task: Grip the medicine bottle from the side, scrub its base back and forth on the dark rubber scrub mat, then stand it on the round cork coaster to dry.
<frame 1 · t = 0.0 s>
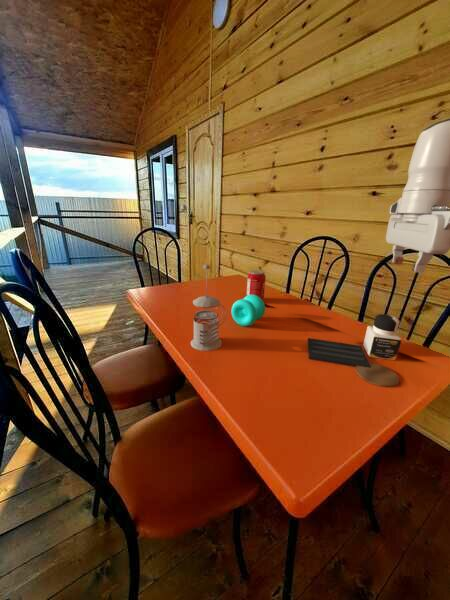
hand: (406, 267, 61), 28 cm above the table, tool pointing down, fingers open, 8 cm apart
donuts: (247, 322, 96), on the table
medicine bottle: (378, 353, 77), on the table
soda can: (254, 304, 115), on the table
coaster: (376, 374, 67), on the table
scrub mat: (335, 353, 76), on the table
french press: (208, 342, 80), on the table
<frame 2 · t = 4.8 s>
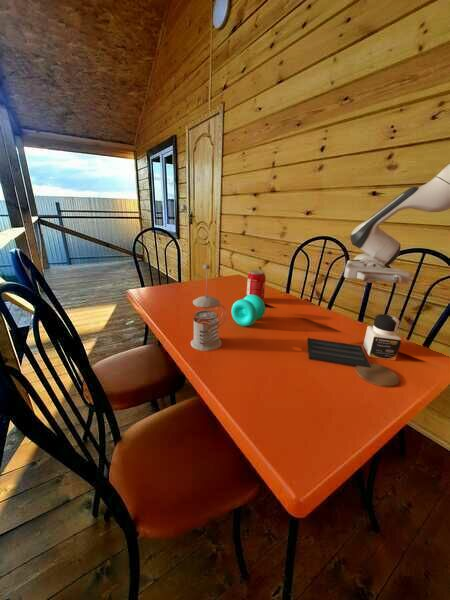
hand: (381, 279, 82), 20 cm above the table, tool horizontal, fingers open, 8 cm apart
nothing on the table moved.
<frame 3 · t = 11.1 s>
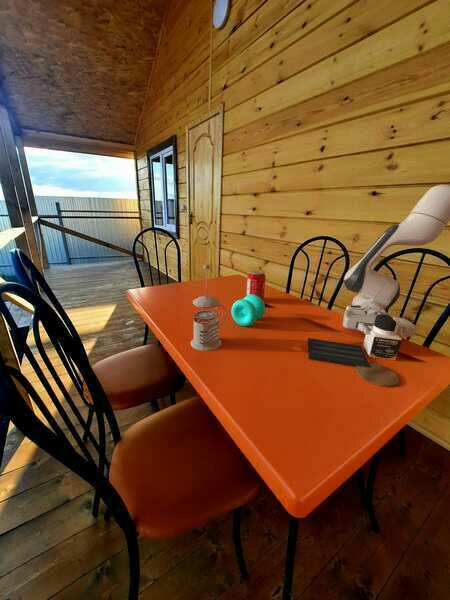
hand: (383, 334, 75), 7 cm above the table, tool horizontal, fingers closed on medicine bottle, 7 cm apart
medicine bottle: (378, 353, 77), on the table, touching gripper
everything else where it was.
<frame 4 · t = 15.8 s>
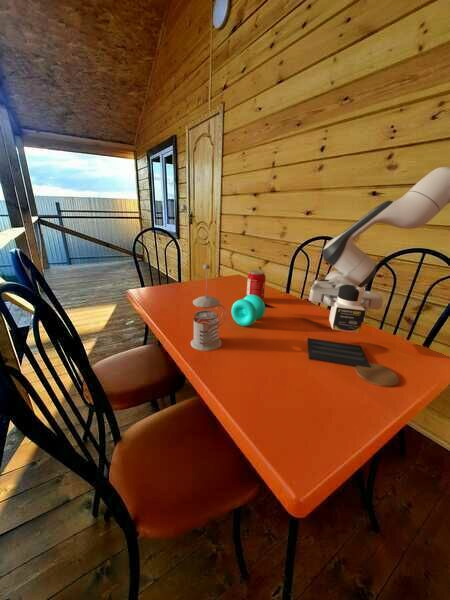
hand: (347, 305, 71), 16 cm above the table, tool horizontal, fingers closed on medicine bottle, 7 cm apart
medicine bottle: (343, 326, 73), point 9 cm above the table, touching gripper
everything else where it was.
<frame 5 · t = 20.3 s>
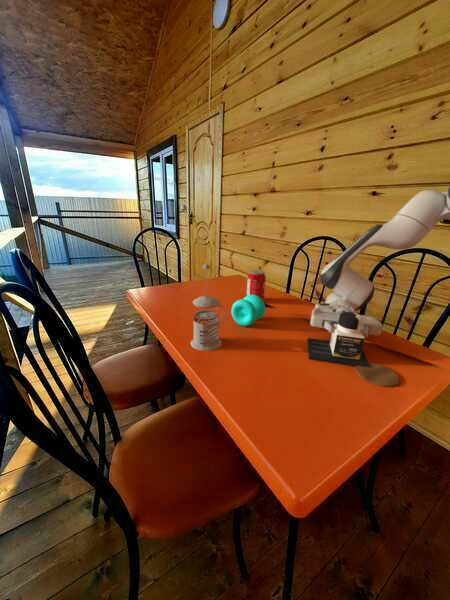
hand: (348, 332, 73), 8 cm above the table, tool horizontal, fingers closed on medicine bottle, 7 cm apart
medicine bottle: (343, 352, 75), point 1 cm above the table, touching gripper
everything else where it was.
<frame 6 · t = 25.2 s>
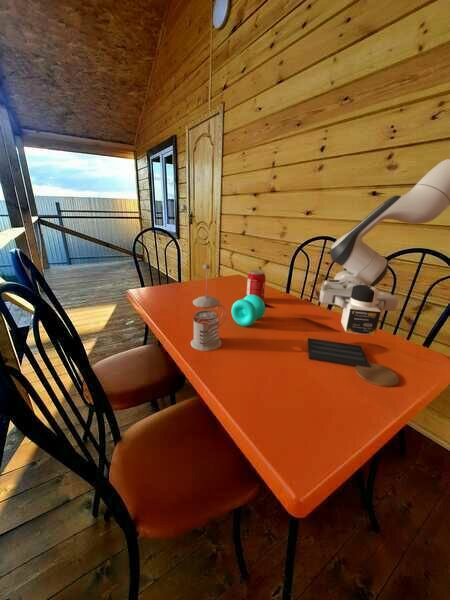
hand: (361, 307, 67), 17 cm above the table, tool horizontal, fingers closed on medicine bottle, 7 cm apart
medicine bottle: (356, 329, 69), point 10 cm above the table, touching gripper
everything else where it was.
when the fingers open (7 cm above the table, at t = 29.5 s): medicine bottle stays where it is, resting on coaster, scrub mat.
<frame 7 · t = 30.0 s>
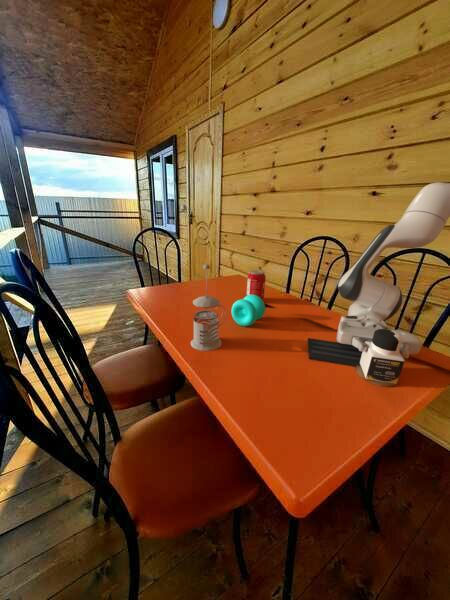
hand: (384, 352, 64), 7 cm above the table, tool horizontal, fingers open, 8 cm apart
medicine bottle: (376, 373, 66), resting on coaster, scrub mat
everything else where it was.
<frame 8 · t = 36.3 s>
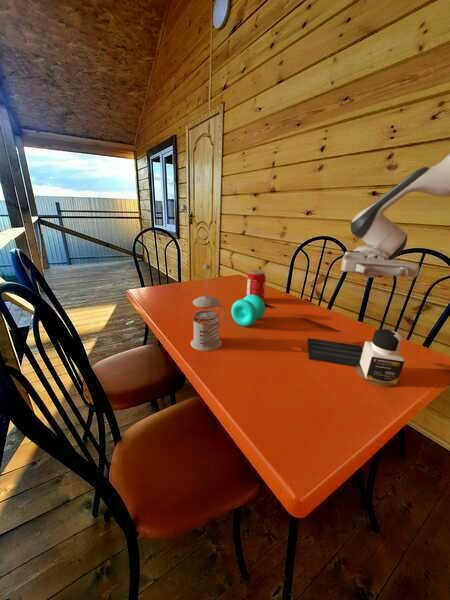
hand: (384, 272, 70), 25 cm above the table, tool horizontal, fingers open, 8 cm apart
nothing on the table moved.
at the end: medicine bottle 0.3 cm off-centre on the coaster, point 0.5 cm above the coaster's base; medicine bottle tilted 3°; the gripper is holding nothing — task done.
